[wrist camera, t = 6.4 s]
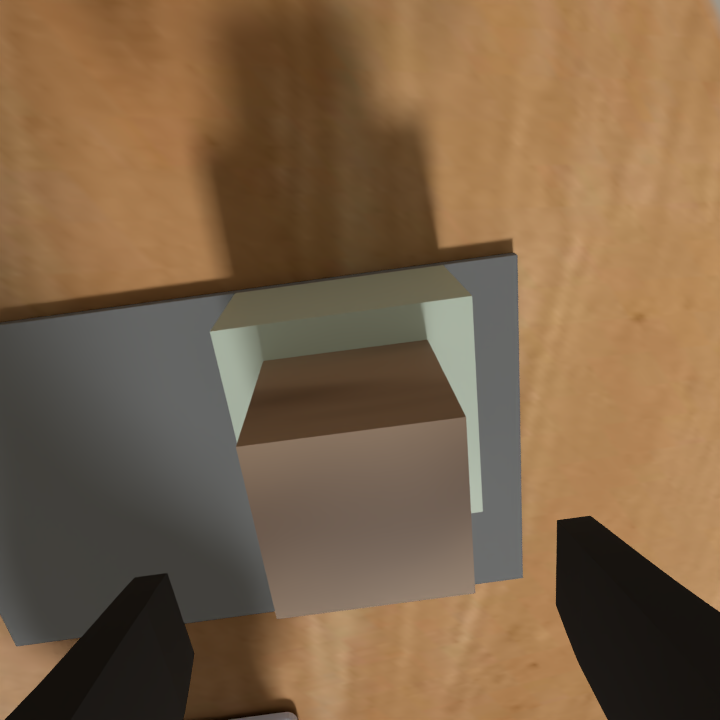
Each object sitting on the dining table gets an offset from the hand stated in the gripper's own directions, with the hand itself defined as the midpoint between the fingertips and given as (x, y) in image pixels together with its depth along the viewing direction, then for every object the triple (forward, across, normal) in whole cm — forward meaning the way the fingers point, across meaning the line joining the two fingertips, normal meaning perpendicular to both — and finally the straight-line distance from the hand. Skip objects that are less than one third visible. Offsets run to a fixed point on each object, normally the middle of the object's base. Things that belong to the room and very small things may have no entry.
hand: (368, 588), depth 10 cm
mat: (+10, +5, +4) cm, 12 cm away
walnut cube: (+6, 0, 0) cm, 6 cm away
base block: (+10, 0, 0) cm, 10 cm away
